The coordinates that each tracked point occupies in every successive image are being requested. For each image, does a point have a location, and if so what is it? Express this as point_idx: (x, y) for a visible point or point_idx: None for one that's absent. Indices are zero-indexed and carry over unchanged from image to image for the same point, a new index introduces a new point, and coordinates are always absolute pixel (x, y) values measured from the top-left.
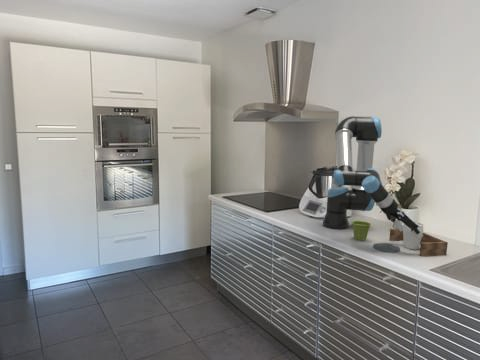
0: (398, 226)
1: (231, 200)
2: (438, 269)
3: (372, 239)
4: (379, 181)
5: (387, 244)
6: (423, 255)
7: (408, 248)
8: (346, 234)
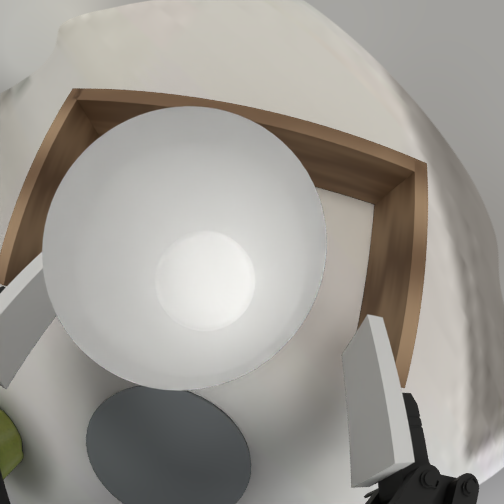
0: (40, 320)
1: None
2: (481, 418)
3: None
4: None
5: (118, 415)
6: None
7: (217, 325)
8: None
